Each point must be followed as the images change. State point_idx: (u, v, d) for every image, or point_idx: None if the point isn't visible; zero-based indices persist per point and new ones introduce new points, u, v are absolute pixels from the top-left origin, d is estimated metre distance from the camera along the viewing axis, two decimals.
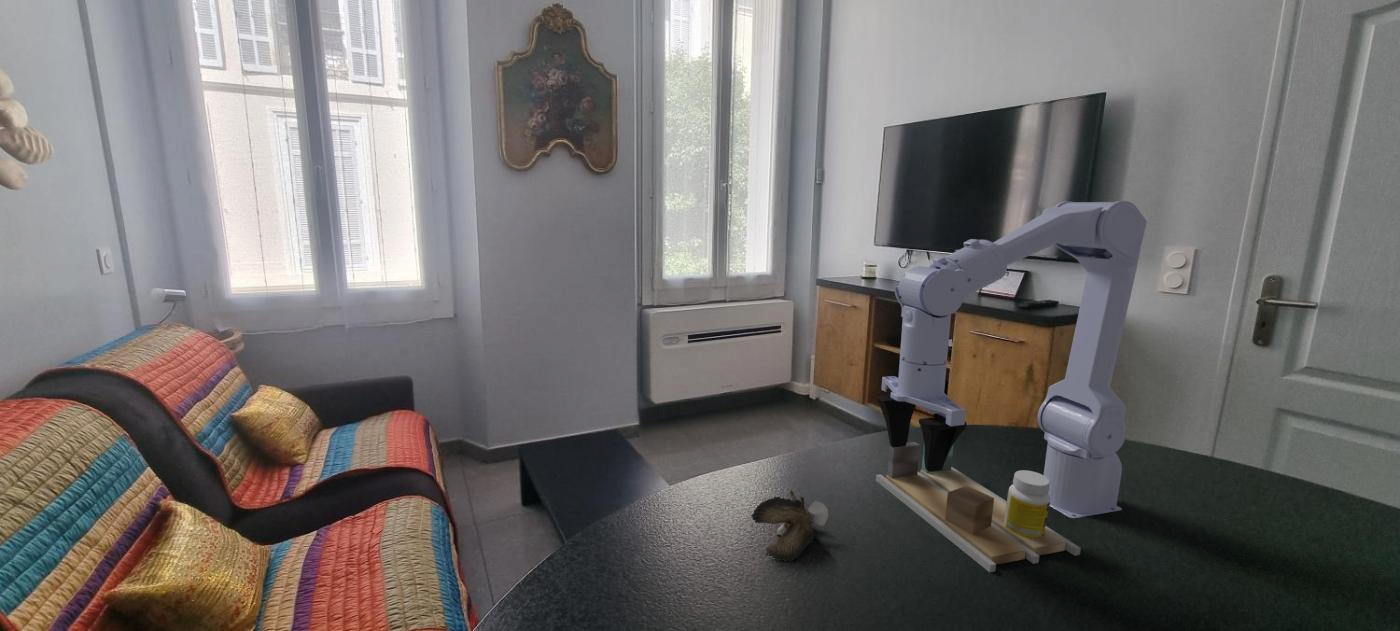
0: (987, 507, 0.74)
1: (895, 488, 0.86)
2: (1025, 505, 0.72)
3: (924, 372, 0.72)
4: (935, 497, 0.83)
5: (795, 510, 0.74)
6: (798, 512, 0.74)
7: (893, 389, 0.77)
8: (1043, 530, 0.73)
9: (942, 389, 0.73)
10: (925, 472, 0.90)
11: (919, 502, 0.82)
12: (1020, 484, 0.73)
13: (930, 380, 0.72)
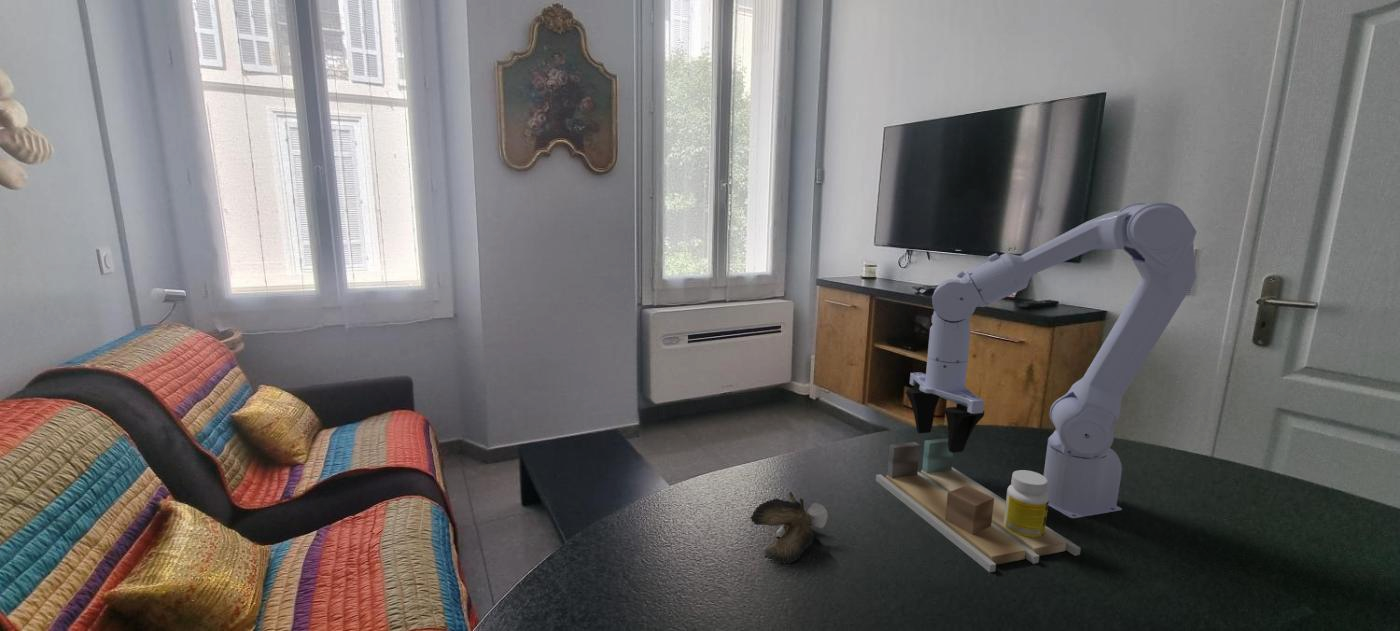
0: (987, 507, 0.74)
1: (895, 488, 0.86)
2: (1024, 505, 0.72)
3: (949, 368, 0.85)
4: (935, 497, 0.83)
5: (794, 512, 0.73)
6: (797, 514, 0.74)
7: (921, 383, 0.91)
8: (1043, 529, 0.73)
9: (964, 383, 0.87)
10: (925, 472, 0.90)
11: (919, 502, 0.82)
12: (1018, 484, 0.73)
13: (953, 376, 0.86)
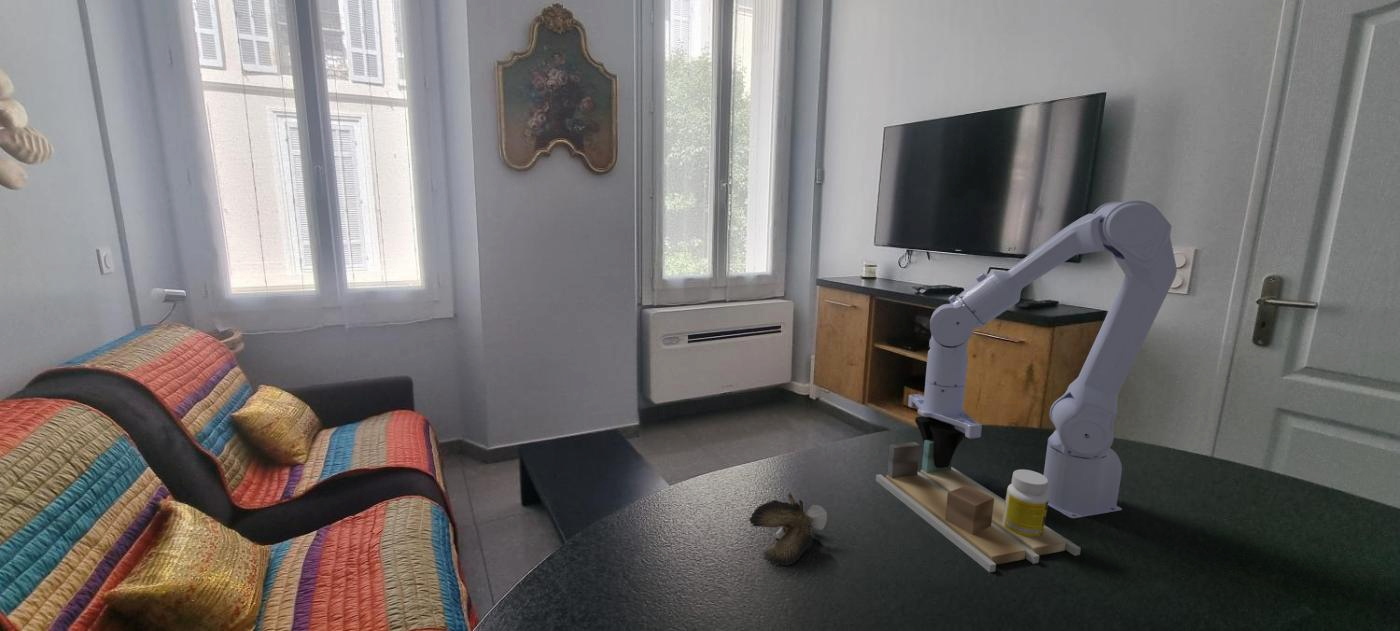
0: (987, 507, 0.74)
1: (895, 488, 0.86)
2: (1024, 504, 0.72)
3: (946, 393, 0.86)
4: (935, 497, 0.83)
5: (793, 514, 0.73)
6: (797, 516, 0.73)
7: (919, 406, 0.91)
8: (1042, 529, 0.73)
9: (962, 406, 0.87)
10: (925, 472, 0.90)
11: (919, 502, 0.82)
12: (1019, 483, 0.73)
13: (951, 400, 0.86)
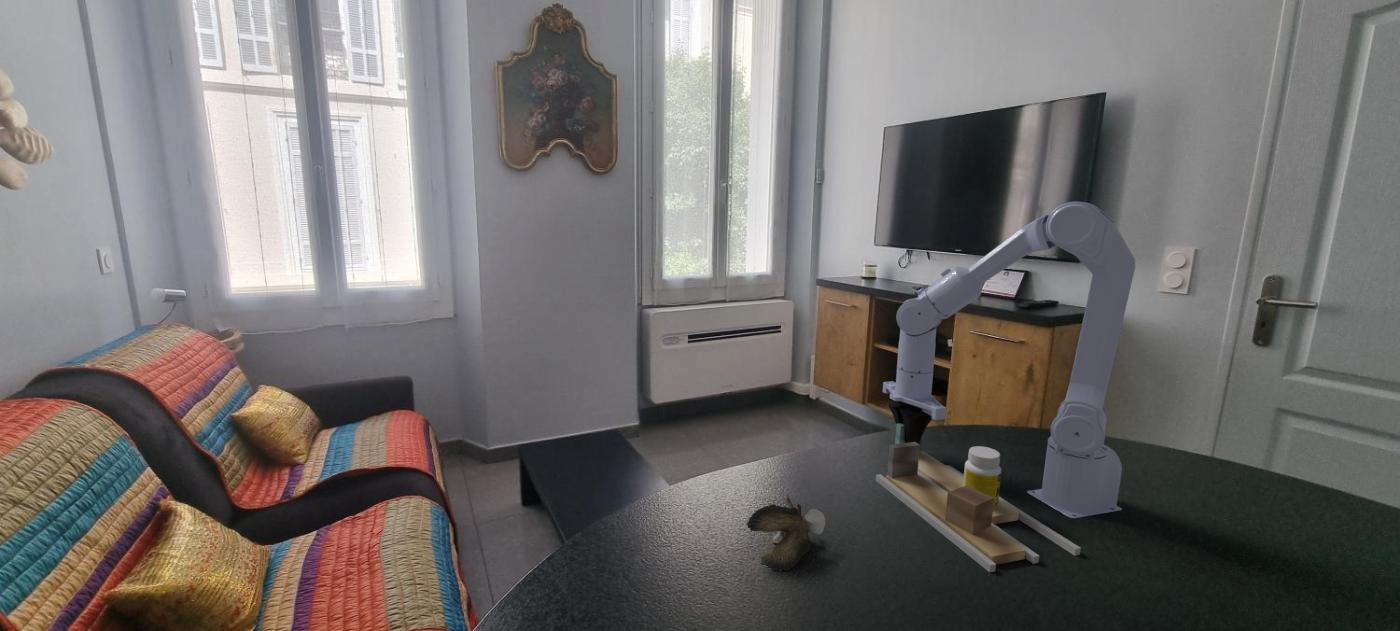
0: (987, 507, 0.74)
1: (895, 488, 0.86)
2: (979, 477, 0.80)
3: (915, 378, 0.93)
4: (935, 497, 0.83)
5: (791, 518, 0.72)
6: (794, 520, 0.72)
7: (891, 391, 0.98)
8: (996, 499, 0.81)
9: (930, 391, 0.94)
10: None
11: (919, 502, 0.82)
12: (973, 458, 0.80)
13: (920, 385, 0.93)
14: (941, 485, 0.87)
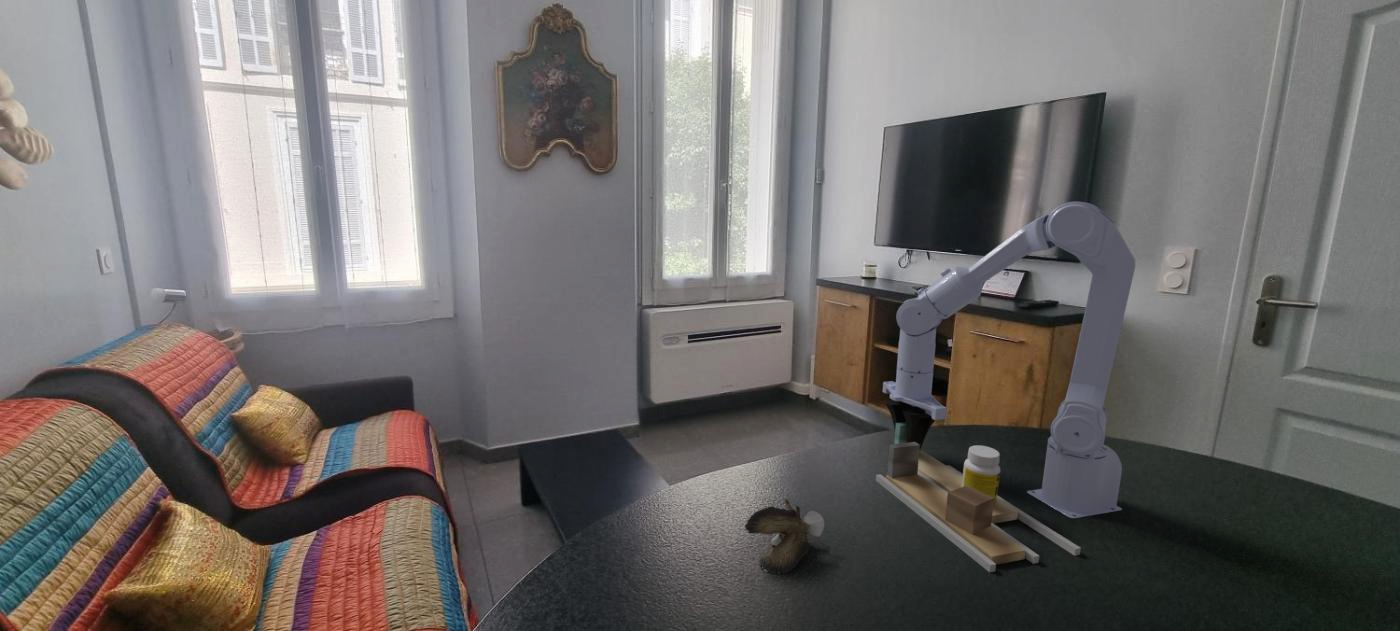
0: (987, 507, 0.74)
1: (895, 488, 0.86)
2: (978, 475, 0.80)
3: (915, 378, 0.93)
4: (935, 497, 0.83)
5: (790, 520, 0.71)
6: (793, 522, 0.72)
7: (891, 391, 0.98)
8: (994, 498, 0.81)
9: (930, 391, 0.94)
10: None
11: (919, 502, 0.82)
12: (973, 457, 0.81)
13: (920, 385, 0.93)
14: (940, 484, 0.87)
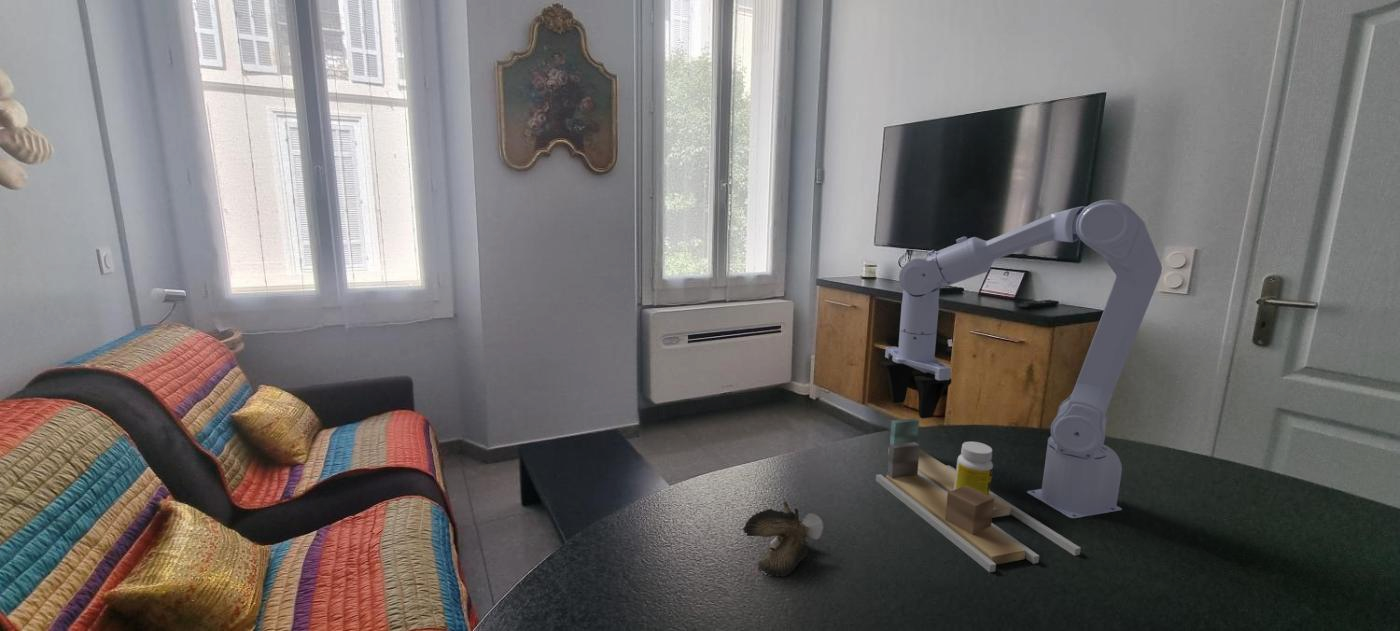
0: (987, 507, 0.74)
1: (895, 488, 0.86)
2: (971, 471, 0.81)
3: (918, 340, 0.92)
4: (935, 497, 0.83)
5: (789, 523, 0.71)
6: (792, 525, 0.71)
7: (894, 355, 0.97)
8: (987, 494, 0.82)
9: (933, 353, 0.93)
10: None
11: (919, 502, 0.82)
12: (966, 453, 0.82)
13: (923, 346, 0.92)
14: (935, 481, 0.88)
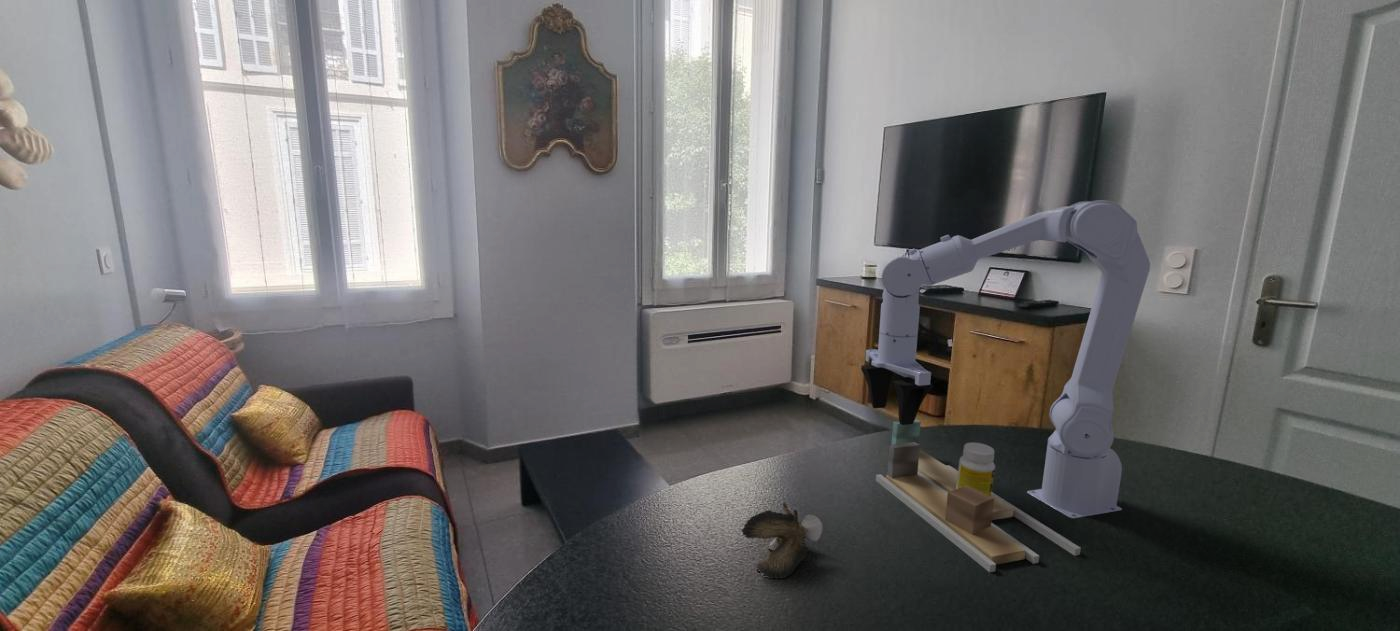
0: (987, 507, 0.74)
1: (895, 488, 0.86)
2: (973, 472, 0.81)
3: (898, 343, 0.88)
4: (935, 497, 0.83)
5: (788, 524, 0.70)
6: (791, 526, 0.71)
7: (874, 358, 0.93)
8: (989, 495, 0.82)
9: (914, 357, 0.89)
10: None
11: (919, 502, 0.82)
12: (968, 454, 0.82)
13: (903, 350, 0.88)
14: (937, 482, 0.88)
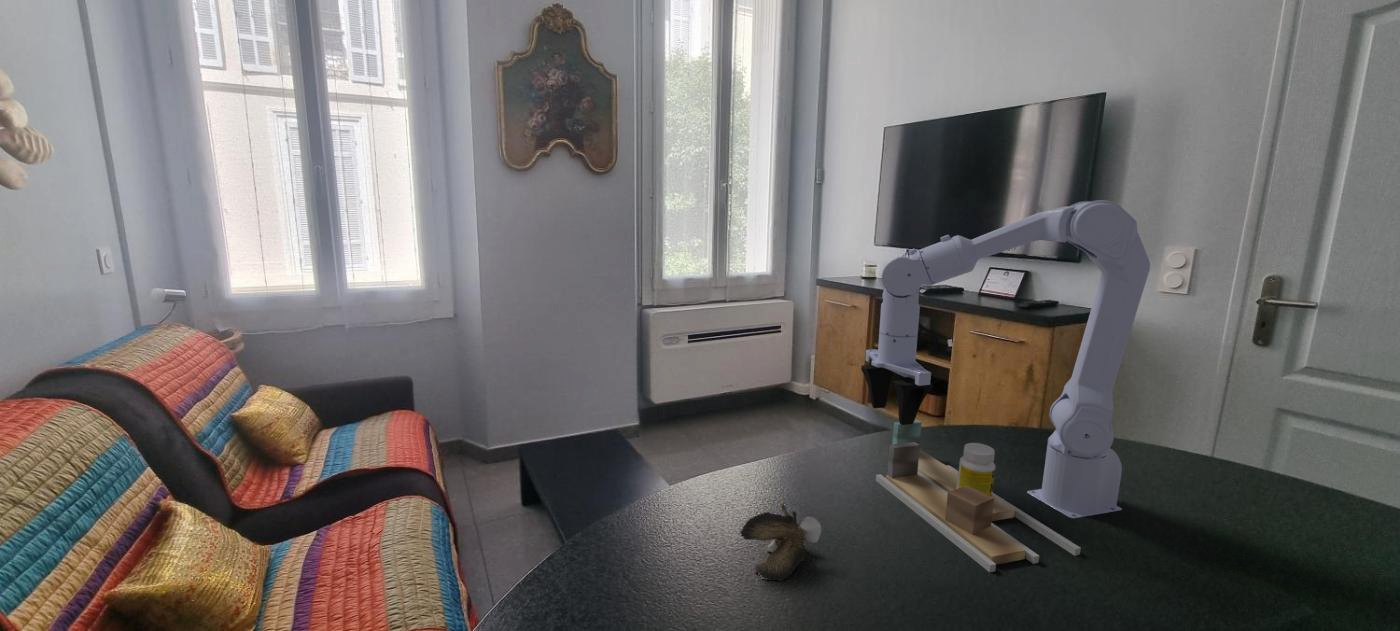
0: (987, 507, 0.74)
1: (895, 488, 0.86)
2: (973, 473, 0.81)
3: (898, 343, 0.88)
4: (935, 497, 0.83)
5: (786, 526, 0.70)
6: (789, 528, 0.70)
7: (874, 358, 0.93)
8: (990, 495, 0.82)
9: (914, 357, 0.89)
10: None
11: (919, 502, 0.82)
12: (968, 455, 0.82)
13: (903, 350, 0.88)
14: (938, 483, 0.87)
